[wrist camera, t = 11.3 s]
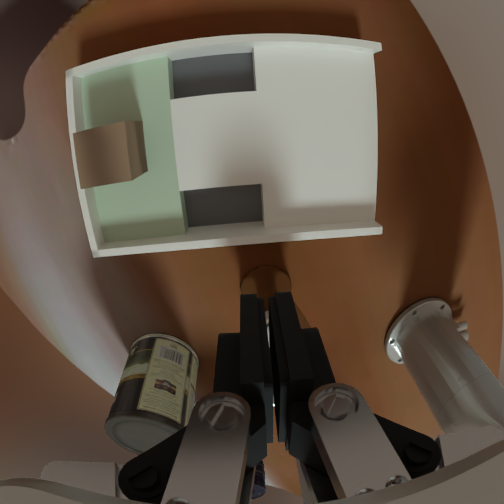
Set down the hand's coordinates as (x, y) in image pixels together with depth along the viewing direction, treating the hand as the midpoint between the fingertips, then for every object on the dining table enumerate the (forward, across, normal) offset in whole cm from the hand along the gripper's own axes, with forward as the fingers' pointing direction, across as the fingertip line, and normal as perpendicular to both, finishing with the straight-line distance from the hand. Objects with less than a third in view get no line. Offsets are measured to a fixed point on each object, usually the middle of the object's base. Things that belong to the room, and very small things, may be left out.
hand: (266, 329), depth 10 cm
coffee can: (+23, +14, +23) cm, 35 cm away
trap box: (+23, +2, -6) cm, 23 cm away
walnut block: (+20, +12, -6) cm, 24 cm away
